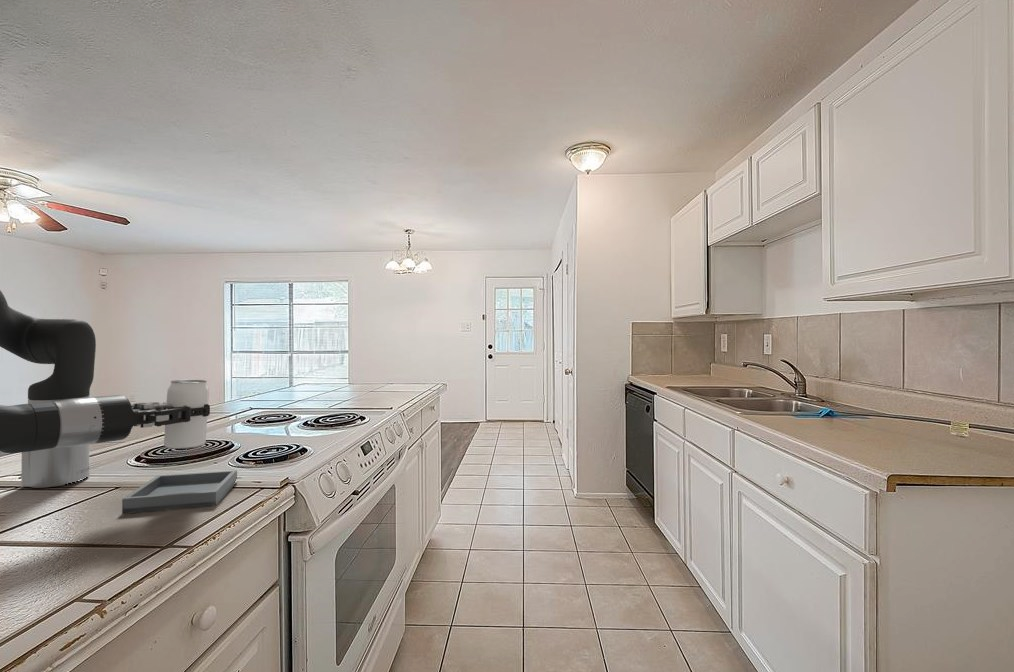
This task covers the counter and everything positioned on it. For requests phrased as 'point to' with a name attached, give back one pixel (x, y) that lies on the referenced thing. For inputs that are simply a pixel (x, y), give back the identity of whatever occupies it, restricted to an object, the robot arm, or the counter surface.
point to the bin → (180, 491)
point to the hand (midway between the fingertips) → (199, 408)
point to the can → (195, 429)
